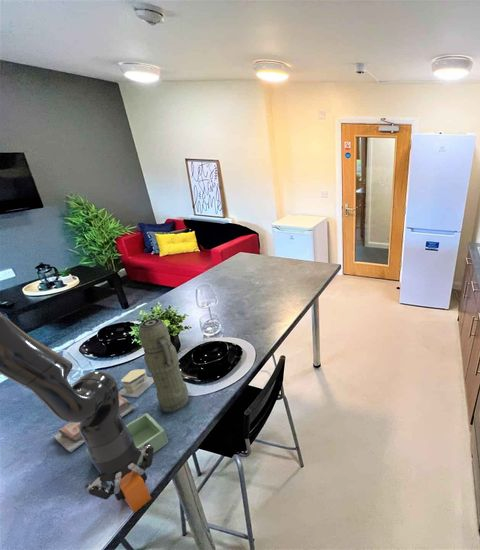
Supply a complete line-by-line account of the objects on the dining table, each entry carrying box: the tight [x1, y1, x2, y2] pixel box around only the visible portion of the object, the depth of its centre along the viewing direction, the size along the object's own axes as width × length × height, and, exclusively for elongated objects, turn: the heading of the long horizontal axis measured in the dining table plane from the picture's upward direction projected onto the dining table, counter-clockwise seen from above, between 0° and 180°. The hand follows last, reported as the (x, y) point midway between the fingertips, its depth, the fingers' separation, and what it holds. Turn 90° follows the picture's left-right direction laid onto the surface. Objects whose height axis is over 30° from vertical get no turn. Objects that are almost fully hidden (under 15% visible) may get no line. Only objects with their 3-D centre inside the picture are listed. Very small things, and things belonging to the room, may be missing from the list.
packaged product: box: [53, 395, 135, 453], centre depth 96 cm, size 18×5×10 cm
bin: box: [85, 412, 169, 487], centre depth 88 cm, size 16×12×6 cm
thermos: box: [138, 318, 190, 413], centre depth 99 cm, size 9×12×35 cm
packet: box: [120, 471, 152, 514], centre depth 76 cm, size 4×7×8 cm, turn 58°
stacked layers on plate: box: [118, 368, 154, 398], centre depth 111 cm, size 10×9×6 cm
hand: (132, 489), depth 76 cm, fingers closed on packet, 4 cm apart
